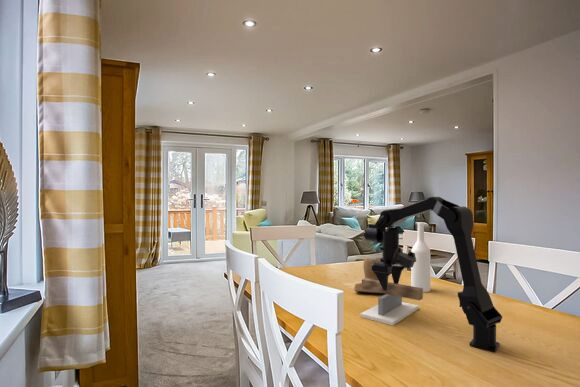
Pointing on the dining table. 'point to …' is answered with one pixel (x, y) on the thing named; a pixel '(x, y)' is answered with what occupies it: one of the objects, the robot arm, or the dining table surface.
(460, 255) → the robot arm
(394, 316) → the ridge
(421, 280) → the bottle
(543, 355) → the dining table surface
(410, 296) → the walnut bar
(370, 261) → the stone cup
